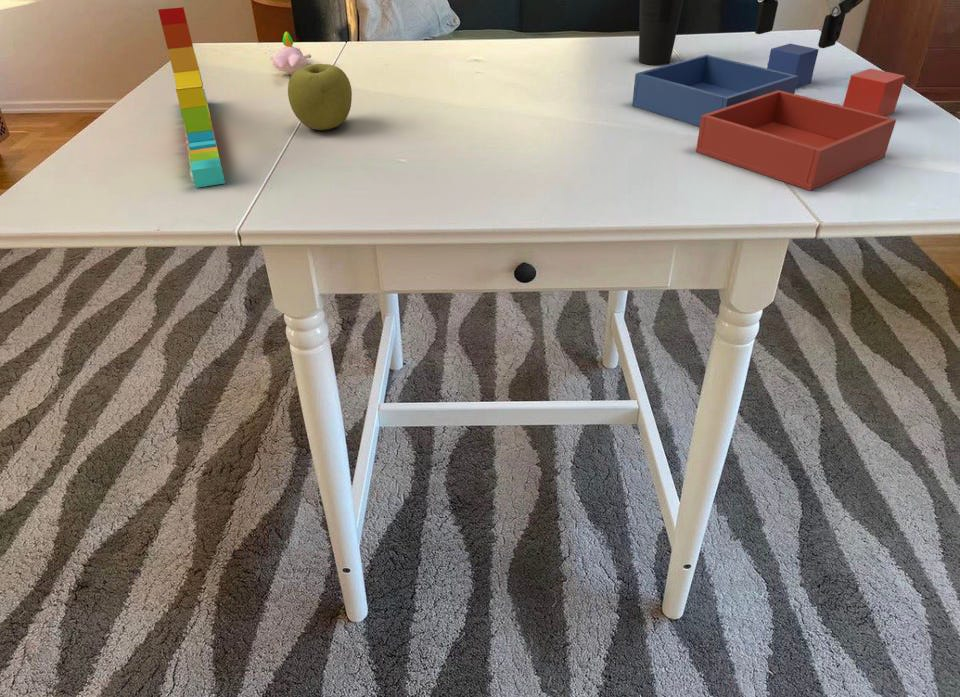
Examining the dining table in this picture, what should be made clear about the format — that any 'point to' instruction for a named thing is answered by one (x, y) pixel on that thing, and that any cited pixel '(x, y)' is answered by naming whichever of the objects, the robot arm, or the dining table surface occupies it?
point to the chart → (191, 100)
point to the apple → (320, 96)
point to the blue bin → (705, 86)
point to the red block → (874, 91)
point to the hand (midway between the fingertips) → (793, 39)
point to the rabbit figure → (289, 57)
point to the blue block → (794, 61)
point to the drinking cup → (658, 30)
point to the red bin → (795, 138)
